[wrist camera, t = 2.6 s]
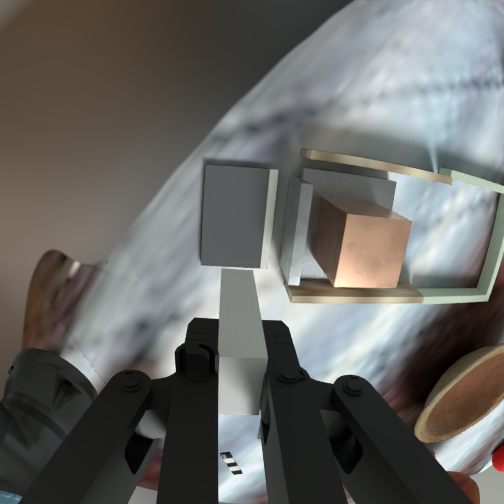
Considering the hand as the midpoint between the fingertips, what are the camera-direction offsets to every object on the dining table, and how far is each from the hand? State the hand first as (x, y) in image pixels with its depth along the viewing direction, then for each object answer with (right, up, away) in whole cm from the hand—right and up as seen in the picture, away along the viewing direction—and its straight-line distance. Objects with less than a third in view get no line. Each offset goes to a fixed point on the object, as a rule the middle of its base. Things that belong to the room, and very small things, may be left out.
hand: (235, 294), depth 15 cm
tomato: (+88, -66, +49) cm, 121 cm away
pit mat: (-1, +6, +15) cm, 16 cm away
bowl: (+37, -19, +28) cm, 50 cm away
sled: (+10, +5, +16) cm, 20 cm away
